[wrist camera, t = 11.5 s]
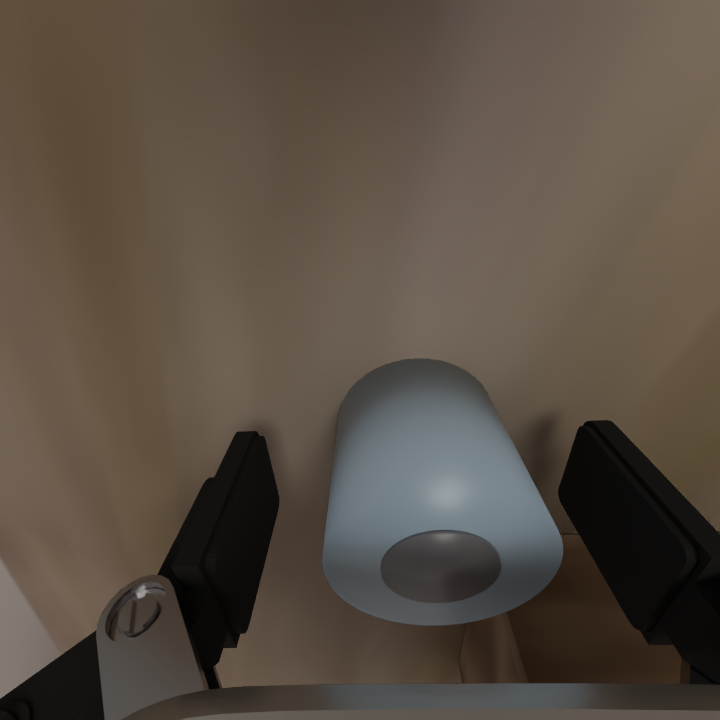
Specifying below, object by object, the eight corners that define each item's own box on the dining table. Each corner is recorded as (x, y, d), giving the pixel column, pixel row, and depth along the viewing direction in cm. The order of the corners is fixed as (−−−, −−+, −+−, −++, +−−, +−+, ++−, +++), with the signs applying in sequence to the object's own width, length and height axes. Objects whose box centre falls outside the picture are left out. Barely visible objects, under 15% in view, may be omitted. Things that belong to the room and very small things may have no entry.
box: (483, 536, 15) (565, 801, 9) (890, 529, 14) (1292, 813, 8) (458, 663, 21) (497, 875, 14) (744, 663, 20) (910, 885, 14)
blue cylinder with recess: (331, 360, 11) (307, 492, 6) (503, 355, 11) (596, 486, 6) (343, 479, 13) (332, 630, 9) (482, 477, 13) (538, 629, 9)
